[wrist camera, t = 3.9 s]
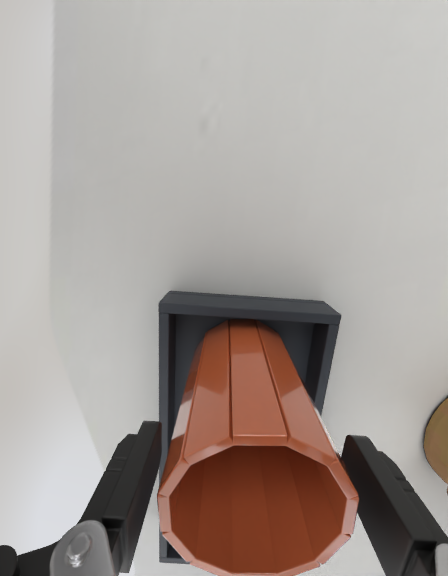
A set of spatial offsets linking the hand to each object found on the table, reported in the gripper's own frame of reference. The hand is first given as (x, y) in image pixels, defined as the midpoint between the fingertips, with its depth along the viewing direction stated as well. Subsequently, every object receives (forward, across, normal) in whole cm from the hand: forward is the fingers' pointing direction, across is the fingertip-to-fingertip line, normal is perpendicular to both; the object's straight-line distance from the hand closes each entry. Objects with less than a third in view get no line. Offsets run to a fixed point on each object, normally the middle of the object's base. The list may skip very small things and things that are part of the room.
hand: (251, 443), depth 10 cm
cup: (+6, 0, 0) cm, 6 cm away
